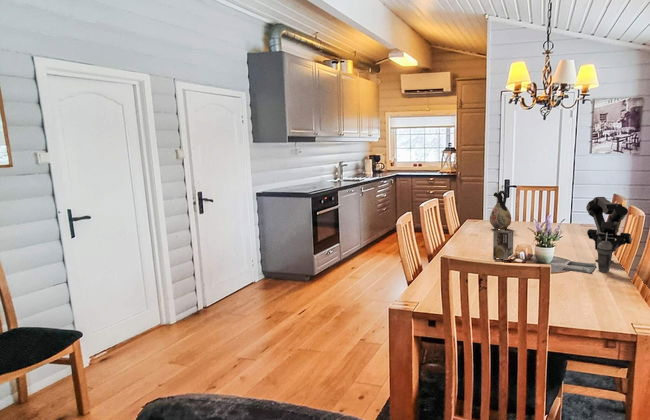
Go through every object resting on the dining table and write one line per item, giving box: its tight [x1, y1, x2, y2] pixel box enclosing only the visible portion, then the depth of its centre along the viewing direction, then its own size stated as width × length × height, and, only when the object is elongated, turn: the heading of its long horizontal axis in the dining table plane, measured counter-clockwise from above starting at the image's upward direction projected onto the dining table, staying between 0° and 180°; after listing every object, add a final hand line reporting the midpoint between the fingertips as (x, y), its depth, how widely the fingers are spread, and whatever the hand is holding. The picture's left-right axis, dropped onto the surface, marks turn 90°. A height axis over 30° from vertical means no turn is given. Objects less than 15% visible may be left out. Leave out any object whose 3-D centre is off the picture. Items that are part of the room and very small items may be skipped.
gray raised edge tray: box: [562, 264, 597, 274], centre depth 232 cm, size 13×14×1 cm
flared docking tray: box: [562, 260, 597, 274], centre depth 232 cm, size 13×15×2 cm
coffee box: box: [492, 230, 514, 259], centre depth 254 cm, size 9×6×16 cm
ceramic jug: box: [489, 190, 512, 231], centre depth 336 cm, size 17×15×30 cm
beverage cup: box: [596, 232, 614, 273], centre depth 224 cm, size 7×7×20 cm
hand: (604, 249), depth 223 cm, fingers closed on beverage cup, 7 cm apart
